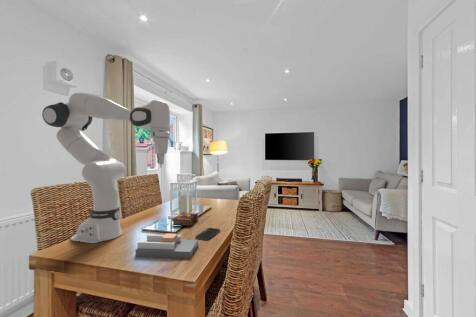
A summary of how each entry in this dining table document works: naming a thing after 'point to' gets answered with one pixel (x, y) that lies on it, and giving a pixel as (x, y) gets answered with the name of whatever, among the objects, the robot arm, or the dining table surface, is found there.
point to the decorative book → (185, 219)
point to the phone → (207, 234)
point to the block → (169, 238)
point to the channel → (166, 247)
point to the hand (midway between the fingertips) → (160, 163)
